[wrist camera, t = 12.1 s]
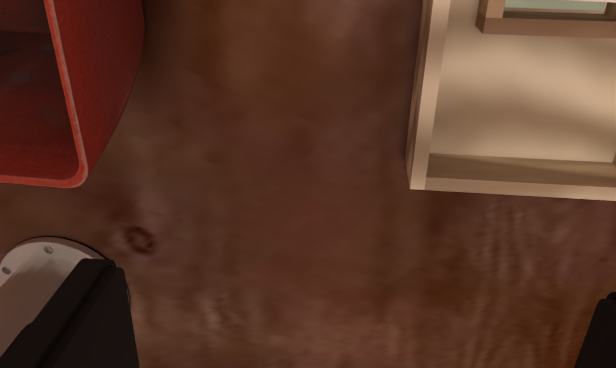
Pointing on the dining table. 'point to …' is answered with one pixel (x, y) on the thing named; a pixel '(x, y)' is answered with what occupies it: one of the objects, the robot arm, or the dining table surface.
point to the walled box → (515, 99)
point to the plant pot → (63, 84)
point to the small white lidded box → (597, 0)
